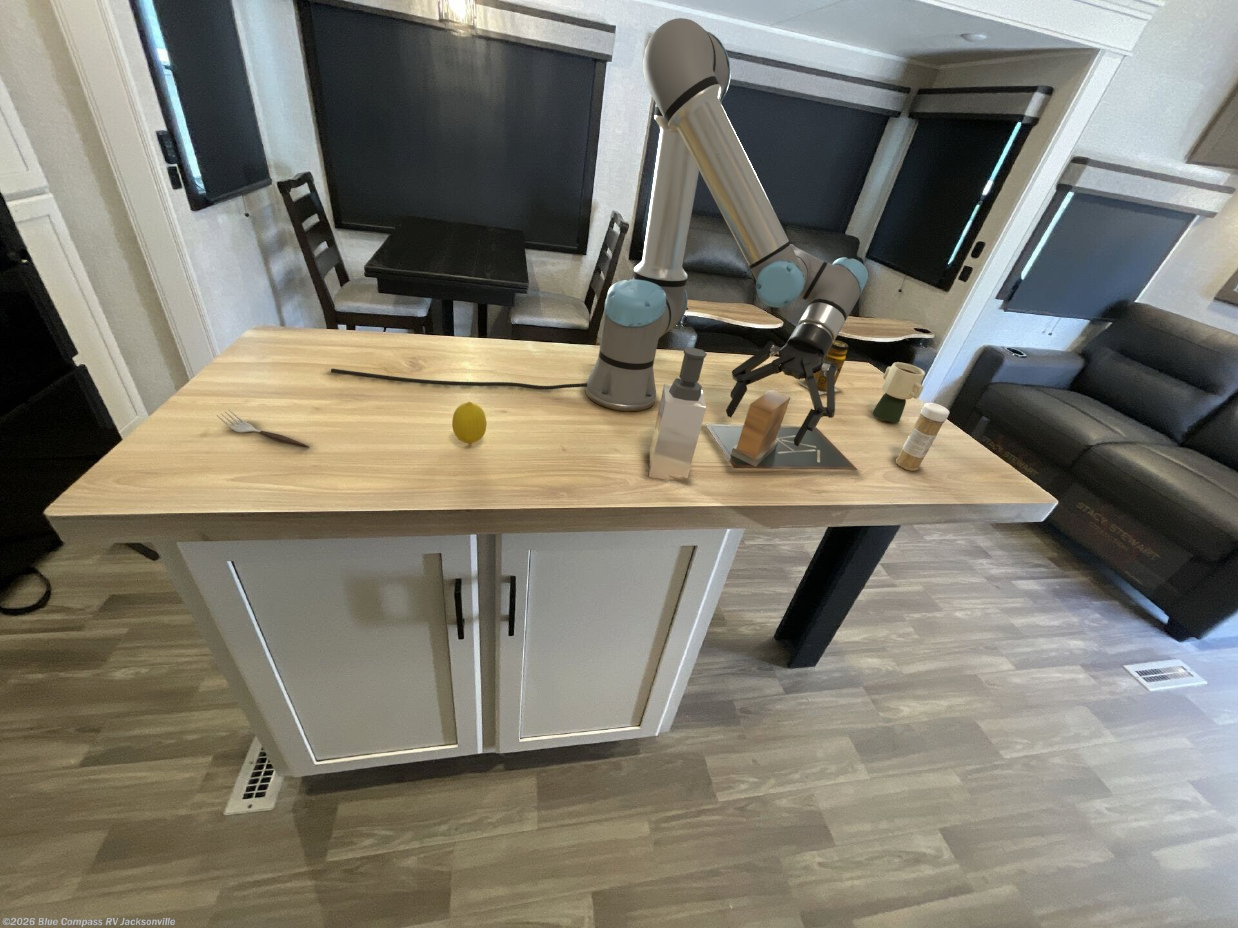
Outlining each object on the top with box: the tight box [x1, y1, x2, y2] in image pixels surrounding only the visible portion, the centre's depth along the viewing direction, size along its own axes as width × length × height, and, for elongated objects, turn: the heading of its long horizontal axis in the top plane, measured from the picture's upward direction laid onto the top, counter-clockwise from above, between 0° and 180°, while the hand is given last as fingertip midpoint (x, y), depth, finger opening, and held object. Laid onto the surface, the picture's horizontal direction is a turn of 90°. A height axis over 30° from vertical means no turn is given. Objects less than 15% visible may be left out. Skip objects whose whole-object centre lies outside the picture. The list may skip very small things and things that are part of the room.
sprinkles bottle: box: [895, 402, 950, 472], centre depth 104 cm, size 5×5×13 cm
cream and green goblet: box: [872, 361, 926, 423], centre depth 123 cm, size 11×7×13 cm, turn 18°
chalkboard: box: [704, 423, 858, 471], centre depth 105 cm, size 26×16×1 cm, turn 101°
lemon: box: [451, 401, 488, 445], centre depth 89 cm, size 6×6×8 cm
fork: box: [216, 409, 310, 449], centre depth 84 cm, size 3×16×2 cm, turn 73°
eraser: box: [731, 389, 791, 467], centre depth 98 cm, size 10×5×11 cm, turn 143°
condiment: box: [797, 339, 850, 396], centre depth 134 cm, size 7×8×12 cm
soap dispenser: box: [648, 346, 708, 482], centre depth 89 cm, size 6×9×22 cm
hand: (761, 428), depth 98 cm, fingers open, 13 cm apart
